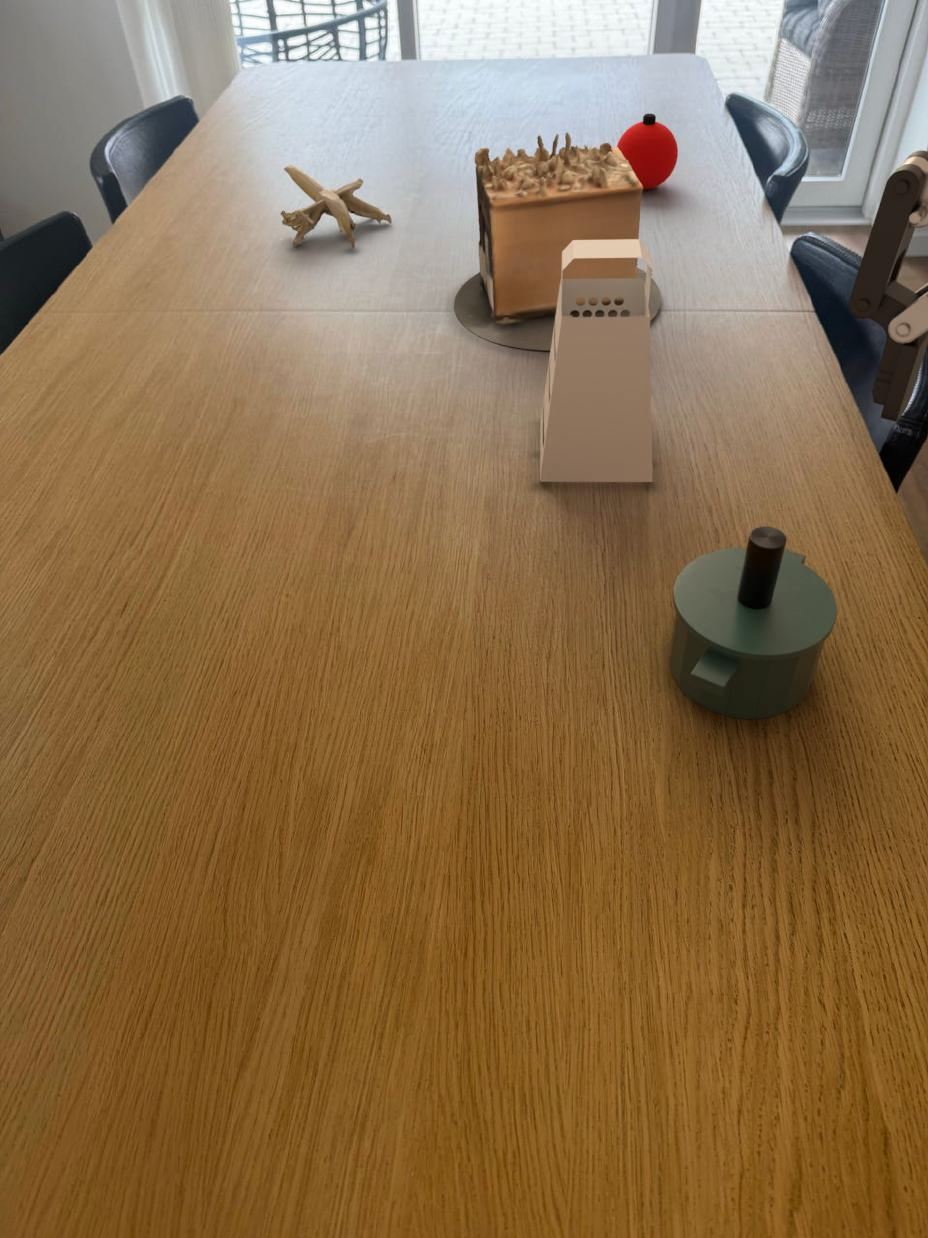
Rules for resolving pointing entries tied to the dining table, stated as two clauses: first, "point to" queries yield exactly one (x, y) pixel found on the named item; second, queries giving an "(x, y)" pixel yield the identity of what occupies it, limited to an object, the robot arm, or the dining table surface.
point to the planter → (547, 238)
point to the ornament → (649, 151)
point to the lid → (755, 600)
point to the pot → (739, 675)
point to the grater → (599, 376)
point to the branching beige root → (328, 207)
